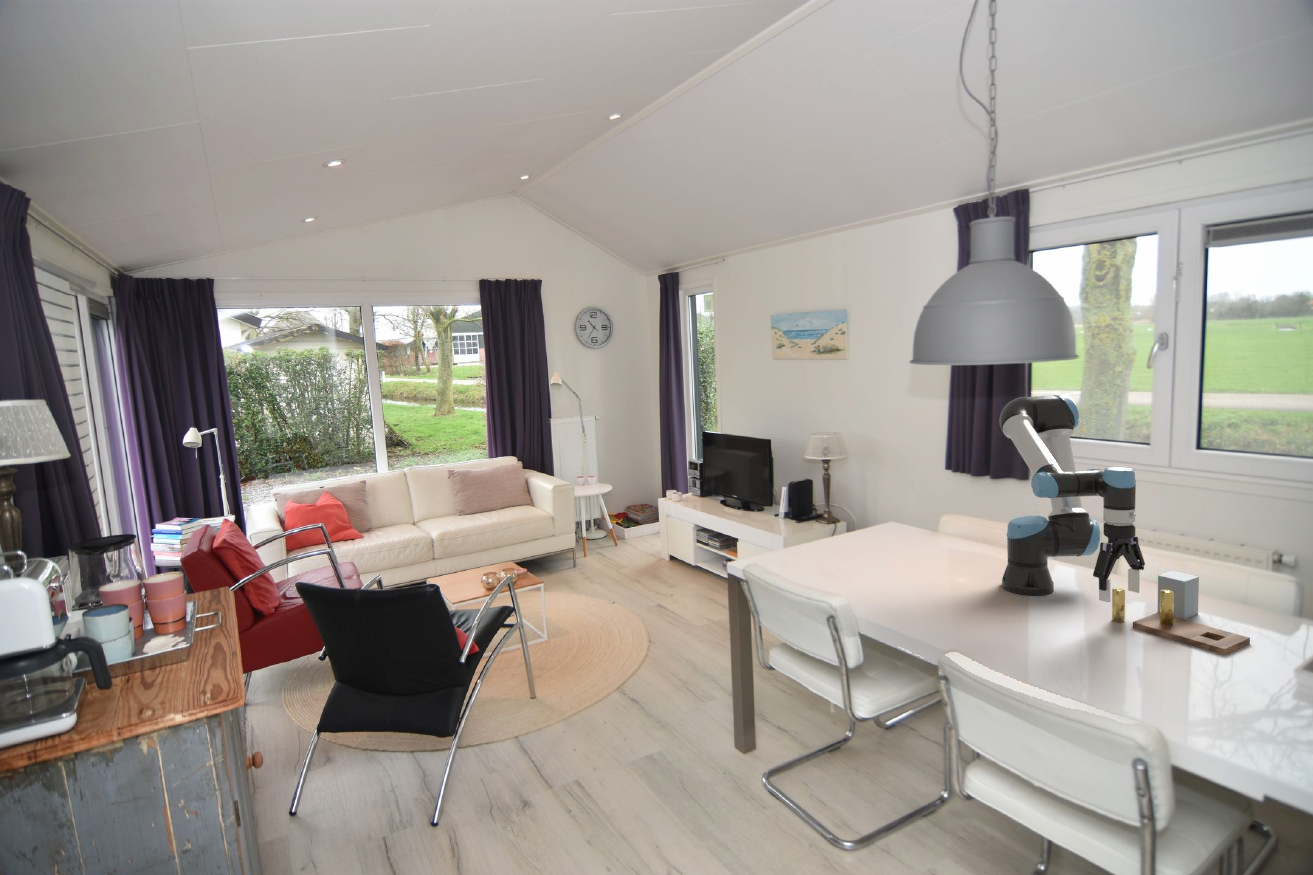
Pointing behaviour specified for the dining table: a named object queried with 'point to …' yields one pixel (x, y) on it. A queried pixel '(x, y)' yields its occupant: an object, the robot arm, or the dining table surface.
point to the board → (1193, 634)
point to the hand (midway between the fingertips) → (1119, 596)
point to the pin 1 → (1118, 605)
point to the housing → (1181, 592)
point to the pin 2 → (1166, 607)
